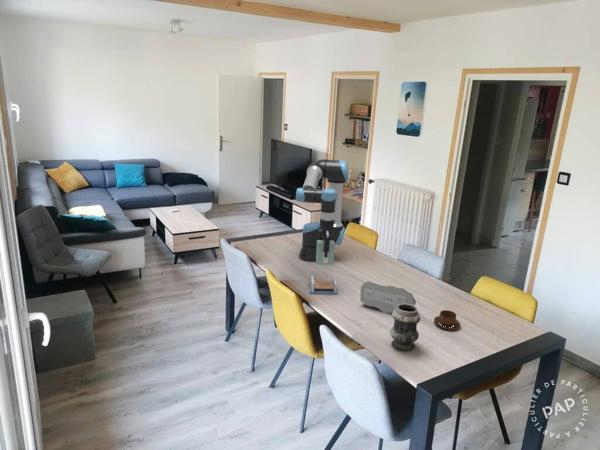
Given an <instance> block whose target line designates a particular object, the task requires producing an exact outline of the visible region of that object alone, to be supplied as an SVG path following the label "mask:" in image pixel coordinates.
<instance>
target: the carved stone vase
mask: <svg viewBox="0 0 600 450" xmlns="http://www.w3.org/2000/svg"><path fill="white" fill-rule="evenodd" d="M391 315H392V318H393V320H394V321H393V326H392V327H391V328H390V330H389V331H390V332H389V334H390V337H391V338H392V339H393V340H391V346H392V347H393V348H394V349H395V350H398V351H402V352H411V351H413V350H414V349H415V348H416V347H415V346H416V345H415V343H414V342H416V341H417V340H418V339H419V335H420V334H419V331H418V330H417V328H418V327H417V326H418V324H419V322H421V319H422V318H421V314H420V313H419V312H418V308H417V306H416V305H415V306H414V305H411V304H399V305H398V306H397V309H395V310H394V311H393V313H391Z"/></svg>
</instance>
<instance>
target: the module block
mask: <svg viewBox="0 0 600 450" xmlns="http://www.w3.org/2000/svg"><path fill="white" fill-rule="evenodd" d="M335 246H336V245H335V243H334V241H331V240H330V243H329V253H328V263H323V252H322V250H324V240H317V252H316V261H315V262H316V265H324V266H325V265H326V266H328V265H329V266H331V265H332V266H333V265H334V263H335V262H334V261H335V250H336V249H335Z"/></svg>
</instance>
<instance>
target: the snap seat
mask: <svg viewBox="0 0 600 450" xmlns="http://www.w3.org/2000/svg"><path fill="white" fill-rule="evenodd" d="M314 289H334V287H333V283H332V280H314Z"/></svg>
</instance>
